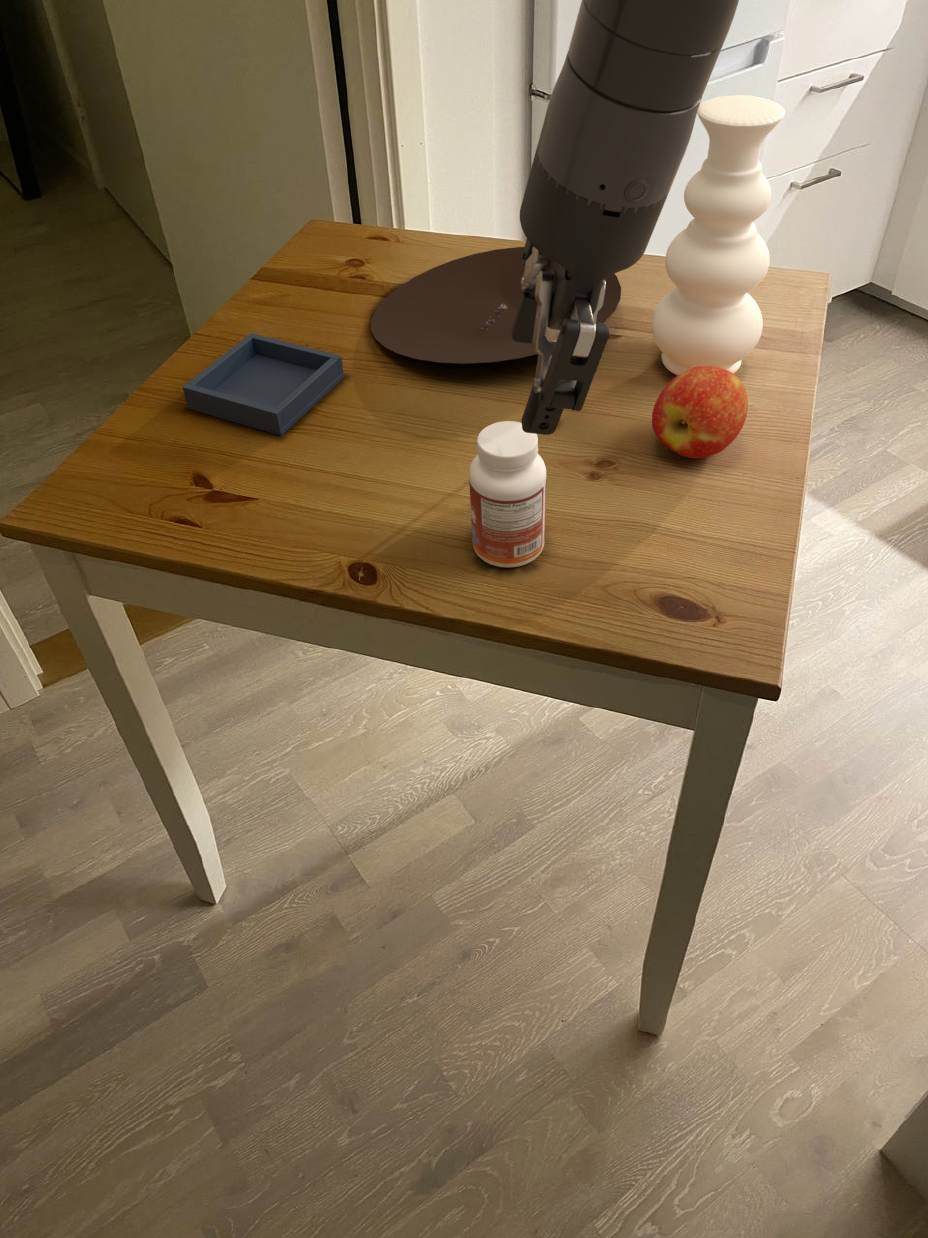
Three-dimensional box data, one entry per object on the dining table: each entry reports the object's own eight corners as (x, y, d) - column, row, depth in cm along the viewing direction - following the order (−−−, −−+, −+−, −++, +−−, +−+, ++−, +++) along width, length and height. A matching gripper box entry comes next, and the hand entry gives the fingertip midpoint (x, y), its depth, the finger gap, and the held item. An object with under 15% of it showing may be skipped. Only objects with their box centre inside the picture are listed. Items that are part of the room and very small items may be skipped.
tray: (281, 436, 93) (276, 413, 91) (188, 409, 97) (182, 386, 95) (344, 377, 100) (341, 355, 98) (255, 354, 103) (250, 332, 102)
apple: (634, 451, 89) (643, 377, 83) (683, 411, 93) (695, 338, 87) (708, 485, 85) (722, 409, 79) (756, 441, 89) (773, 367, 83)
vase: (757, 343, 101) (809, 87, 83) (750, 399, 94) (805, 132, 76) (655, 333, 103) (684, 81, 85) (640, 386, 96) (668, 124, 78)
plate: (438, 247, 120) (436, 218, 117) (650, 284, 111) (654, 254, 108) (324, 356, 103) (319, 325, 100) (565, 410, 94) (567, 378, 91)
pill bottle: (485, 516, 83) (481, 409, 75) (553, 529, 81) (557, 421, 73) (462, 562, 79) (456, 454, 71) (533, 577, 77) (535, 468, 69)
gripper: (527, 74, 53) (471, 306, 67) (552, 231, 46) (482, 457, 59) (652, 96, 55) (572, 319, 68) (696, 252, 47) (597, 468, 60)
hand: (531, 383), depth 63 cm, fingers open, 8 cm apart
